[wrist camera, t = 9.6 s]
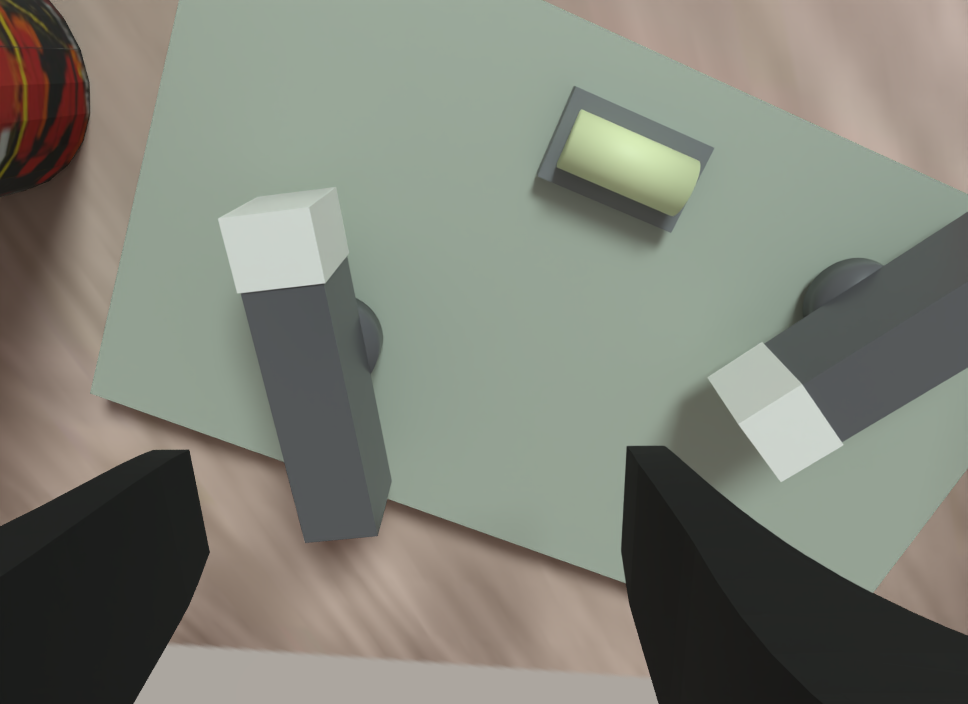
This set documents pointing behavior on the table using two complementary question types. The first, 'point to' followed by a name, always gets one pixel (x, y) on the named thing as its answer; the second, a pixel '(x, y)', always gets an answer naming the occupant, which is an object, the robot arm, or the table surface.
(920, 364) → the knob
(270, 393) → the knob
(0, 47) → the deodorant
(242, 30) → the base plate
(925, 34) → the table surface
